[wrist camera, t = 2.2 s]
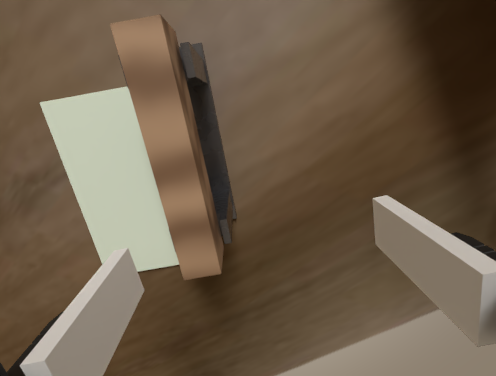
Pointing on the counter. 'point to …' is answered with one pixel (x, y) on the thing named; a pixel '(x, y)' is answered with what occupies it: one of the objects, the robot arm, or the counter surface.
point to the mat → (112, 175)
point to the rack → (208, 135)
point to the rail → (171, 140)
